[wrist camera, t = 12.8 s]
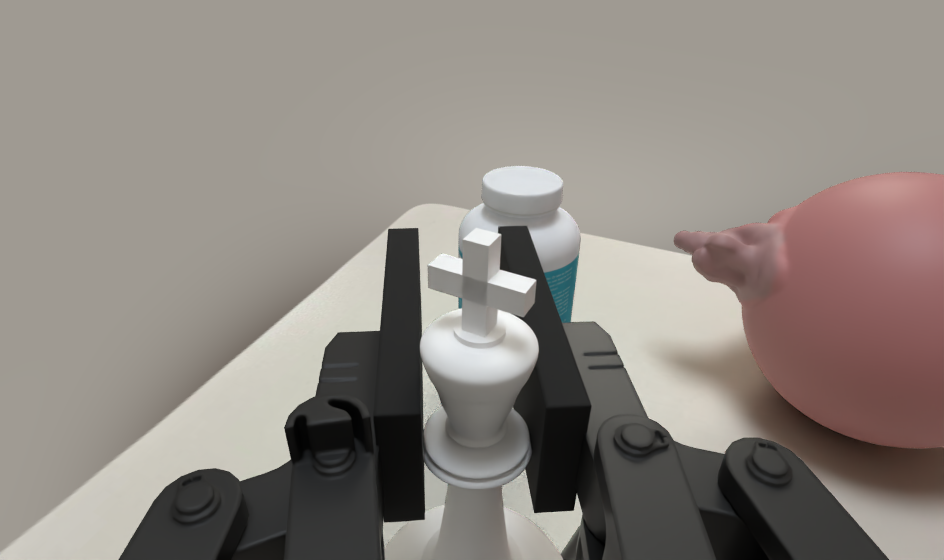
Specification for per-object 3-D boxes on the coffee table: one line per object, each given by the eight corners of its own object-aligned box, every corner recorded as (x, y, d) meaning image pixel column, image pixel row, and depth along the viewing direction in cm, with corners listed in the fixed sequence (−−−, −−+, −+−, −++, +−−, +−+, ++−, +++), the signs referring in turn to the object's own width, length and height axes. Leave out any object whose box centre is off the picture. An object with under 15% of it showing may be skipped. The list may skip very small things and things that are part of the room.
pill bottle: (587, 372, 40) (616, 188, 33) (498, 414, 36) (509, 219, 29) (521, 318, 45) (533, 149, 38) (438, 349, 42) (435, 170, 34)
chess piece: (435, 487, 17) (427, 157, 12) (600, 563, 15) (681, 210, 10) (323, 647, 13) (237, 269, 8) (524, 775, 11) (589, 390, 6)
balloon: (669, 297, 48) (714, 109, 40) (963, 373, 40) (1092, 161, 32) (622, 419, 36) (671, 189, 28) (1023, 557, 29) (1250, 298, 21)
